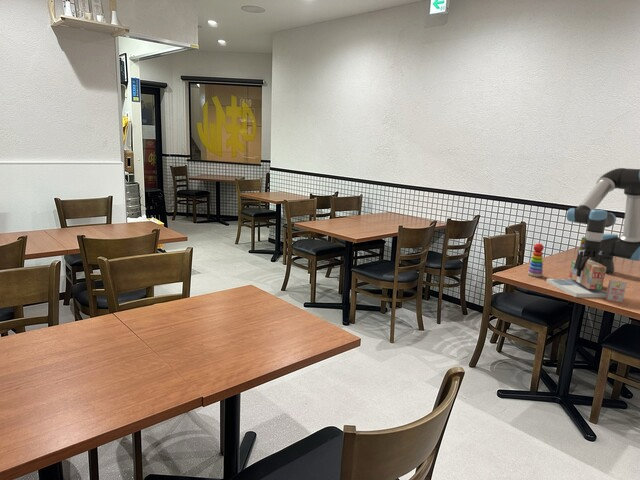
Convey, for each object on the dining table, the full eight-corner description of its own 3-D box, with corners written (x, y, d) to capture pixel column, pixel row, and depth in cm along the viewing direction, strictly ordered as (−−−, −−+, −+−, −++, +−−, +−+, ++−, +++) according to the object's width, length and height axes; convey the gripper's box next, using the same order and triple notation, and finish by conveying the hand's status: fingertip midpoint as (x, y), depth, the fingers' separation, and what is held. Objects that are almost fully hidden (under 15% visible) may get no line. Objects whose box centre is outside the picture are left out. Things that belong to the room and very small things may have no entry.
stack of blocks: (568, 276, 244) (572, 255, 241) (580, 277, 243) (584, 256, 241) (589, 289, 223) (593, 265, 220) (602, 290, 222) (606, 266, 220)
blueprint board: (576, 282, 245) (577, 278, 245) (608, 297, 222) (609, 293, 222) (546, 282, 243) (546, 278, 243) (575, 297, 220) (576, 292, 219)
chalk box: (578, 253, 323) (582, 233, 320) (580, 251, 330) (583, 231, 327) (593, 255, 317) (597, 235, 314) (594, 253, 325) (598, 233, 321)
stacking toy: (541, 274, 258) (546, 243, 254) (543, 278, 251) (548, 245, 247) (526, 272, 261) (531, 241, 257) (528, 276, 253) (533, 244, 249)
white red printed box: (605, 298, 221) (609, 278, 219) (621, 300, 218) (625, 281, 216) (606, 300, 218) (610, 280, 216) (622, 303, 215) (626, 283, 213)
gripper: (605, 238, 232) (597, 280, 237) (570, 237, 230) (563, 280, 235) (616, 241, 225) (607, 285, 230) (580, 240, 223) (572, 284, 228)
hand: (585, 282), depth 232 cm, fingers closed on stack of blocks, 7 cm apart
